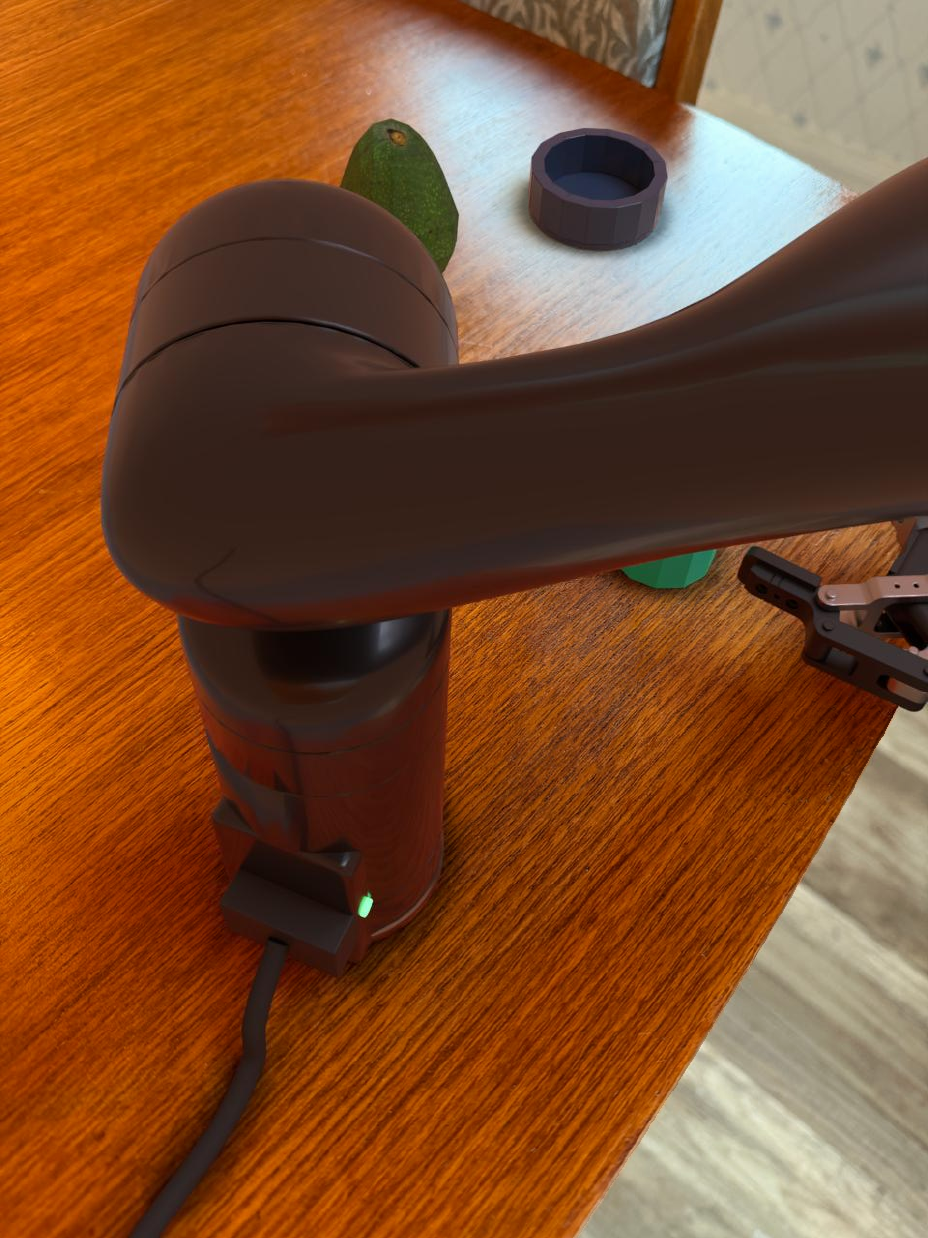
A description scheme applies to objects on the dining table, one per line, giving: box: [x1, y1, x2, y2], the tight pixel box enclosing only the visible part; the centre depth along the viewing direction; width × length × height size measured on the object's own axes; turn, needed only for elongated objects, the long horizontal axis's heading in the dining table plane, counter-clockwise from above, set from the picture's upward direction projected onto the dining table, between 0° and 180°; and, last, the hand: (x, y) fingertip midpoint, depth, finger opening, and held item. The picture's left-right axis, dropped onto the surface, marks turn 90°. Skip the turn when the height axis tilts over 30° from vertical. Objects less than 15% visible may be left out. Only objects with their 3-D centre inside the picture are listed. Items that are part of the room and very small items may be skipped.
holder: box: [527, 127, 669, 252], centre depth 85 cm, size 9×9×4 cm
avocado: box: [339, 117, 460, 274], centre depth 75 cm, size 8×8×12 cm
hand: (779, 507), depth 60 cm, fingers open, 8 cm apart
